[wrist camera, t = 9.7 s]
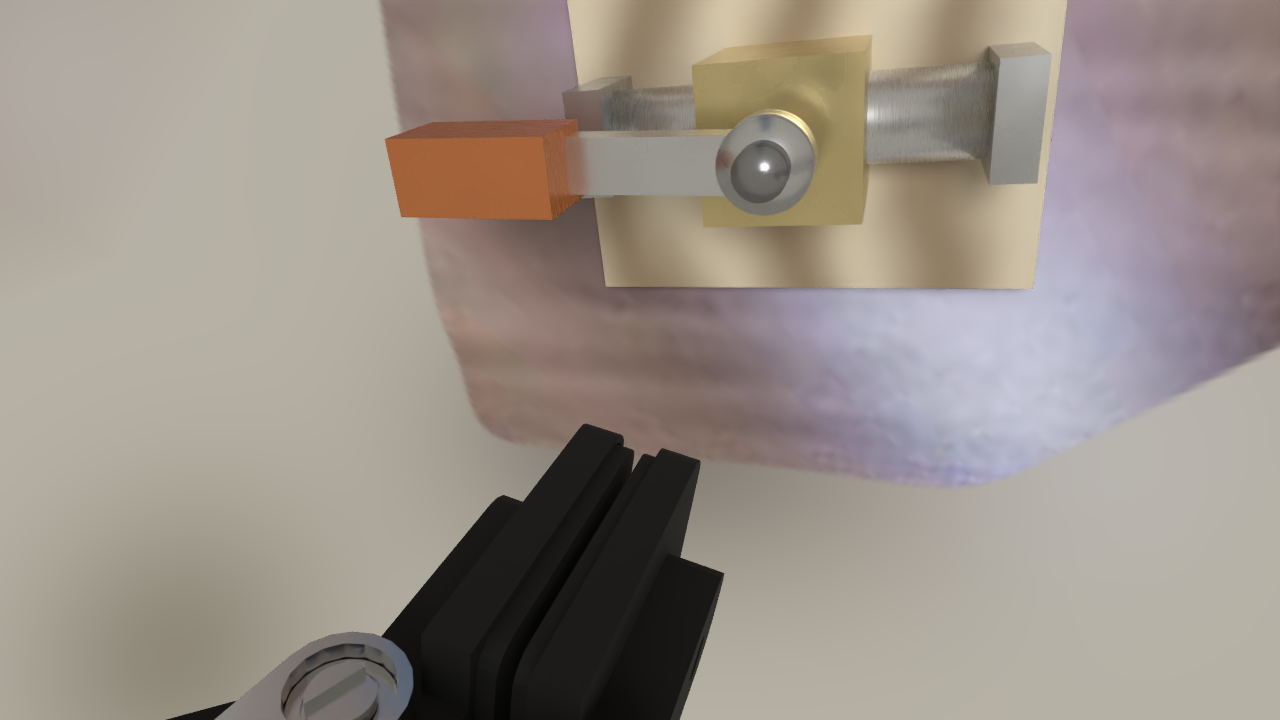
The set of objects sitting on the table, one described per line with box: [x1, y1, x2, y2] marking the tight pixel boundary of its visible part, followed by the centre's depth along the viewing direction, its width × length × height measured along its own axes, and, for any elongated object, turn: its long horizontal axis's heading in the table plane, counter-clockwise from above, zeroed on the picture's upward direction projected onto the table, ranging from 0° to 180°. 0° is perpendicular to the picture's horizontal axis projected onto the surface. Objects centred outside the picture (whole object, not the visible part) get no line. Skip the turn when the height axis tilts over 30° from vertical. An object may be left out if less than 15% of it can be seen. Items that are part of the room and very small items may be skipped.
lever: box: [385, 109, 818, 220], centre depth 27 cm, size 15×3×3 cm, turn 94°
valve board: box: [567, 0, 1067, 289], centre depth 34 cm, size 20×16×2 cm
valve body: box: [562, 34, 1052, 227], centre depth 30 cm, size 18×6×8 cm, turn 96°
